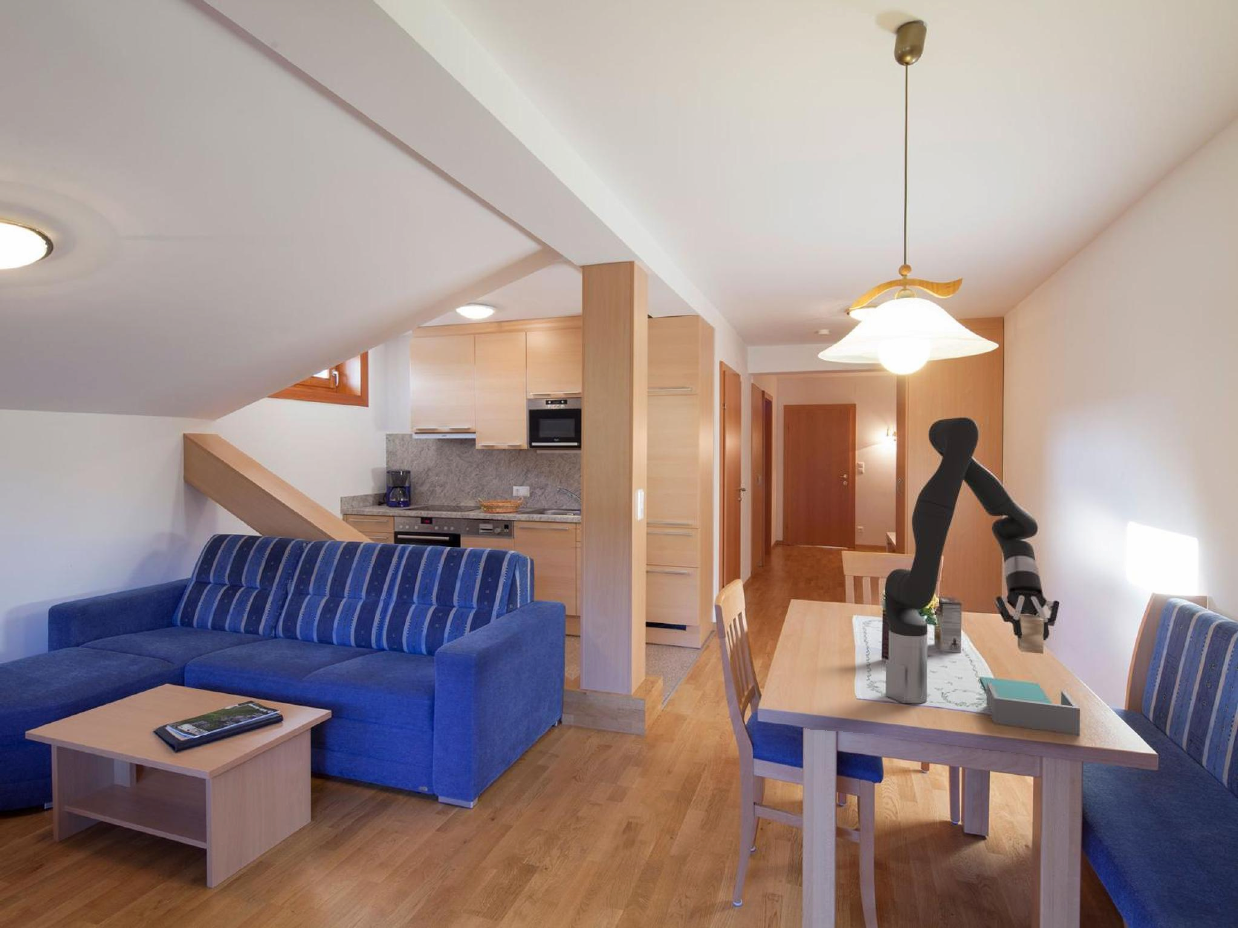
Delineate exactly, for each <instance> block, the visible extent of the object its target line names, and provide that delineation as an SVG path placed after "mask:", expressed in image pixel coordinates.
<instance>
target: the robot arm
mask: <svg viewBox="0 0 1238 928" xmlns="http://www.w3.org/2000/svg"><path fill="white" fill-rule="evenodd" d="M979 436H980V431H979V426H978V424H977V423H976V421H974V419H972V418H969V417H954V418H953V417H951V418H943V419H938V420H936V421H935V422H933V423H932V425H931V426H930V427H929V429H928V440H929V443H930V444H931V446H932V448H933V449H934V450H935V451H936V452H937V453H938V454H939V455H940V456H941V457H942V458H941V461H940V463H939V466H938V468H937V469H936V471H935V472H934V474H933V475H932V476H931V478H929V480H928V481H927V482H926V484H925V485H924V486H923V487H922V489H921V491H920V492H919V493H918V496H917V498H916V502H915V506H914V509H913V513H912V516H911V527H912V528H911V529H912V534H913V539H914V546H915V548H914V549H915V552H914V556H913V557H914V558H913V562H912V564H911V569H906V568H897V569H894V570H892V571H891V572H890V573H889V574H888V575H887V578H886V579H885V580H886V581H885V585H884V605H885V606H884V608H885V610H886V618H887V621H888V623H889V659H888V660H886V662H885V696H886V697H888V698H891V699H892V700H895V701H898V702H900V703H902V704H923V703H926V702H927V701H928V624H927V623H928V622H926V620H925V619H924V618H923V617H922V615H920V613H919V612H918V611H919V610H923V609H925V608H927V607H928V606H929V605H930V603H931V602H932V601H933V599H934V598H935V593H936V590H937V584H938V578H939V571H940V567H941V566H940V565H941V560H942V555H943V552H944V549H945V543H946V541H947V536H948V532H949V529H950V526H951V524H952V521H953V516H954V513H955V509H956V506H957V501H958V498H959V495H960V491H961V489H962V485H963V482H964V483H965V484H966V485H967V487H969V489H970V490H971V491H972V493H973V494H974V496H975V497H976V498H977V500H978V502H979V503H980V504H981V506H982V507H983V508H984V510H985V512H986V513H987V514H988V515H989V516H992V517H1000V516H1001V518H997V519H996V520H995V521H994V522H993V523H992V525H991V532H992V534H993V536H994V538H995V540H996V541H997V543H998V545H999V546H1000V549H1001V552H1002V556H1003V563H1004V564H1003V565H1004V578H1005V579H1004V580H1005V583H1006V591H1007V596H1005V597H1002V596H996V597H995V603H994V604H995V606H996V607H995V608H997V611H998V612H999V614H1000V617H1001V618H1002V621H1003V622H1004V623H1010V624H1011V625H1012V629H1013V634H1014V636H1017V637H1016V638H1017V639H1018V638H1021V636H1022V631H1021V625H1020V621H1019V615H1020V614H1022V615H1035V616H1039V617H1041V618H1042V619H1043V620H1044V634H1043V641H1047V639H1049V637H1050V630H1049V626H1050V627H1053V626H1055V625H1056V621H1057V617H1058V612H1059V609H1060V608H1059V607H1060V601H1058V600H1053V601H1051V600H1048V599H1046V597H1045V596H1044V593H1043V587H1042V582H1041V576H1040V571H1039V567H1038V565H1037V562H1036V556H1035V552H1034V548H1033V545H1031V543H1030V542H1028V541H1025V540H1026V539H1030V538H1032V537H1035V536H1036V535H1037V533H1038V529H1039V527H1038V526H1039V525H1038V522H1037V521H1036V519H1035V517H1033V515H1032V514H1031V513H1030V512H1028V510H1026V509H1024V508H1023V507H1022V506H1020V505H1019V504H1018V503H1017V502H1016V501H1015V500H1014V499H1013V498H1012V497H1011V495H1010V493H1009V492H1008V491H1007V490H1006V488H1005V486H1004V485H1003V483H1002V482H1001V481H1000V480H999V479H998V478H997V477H996V476H995V475H994V474H993V473H992V472H991V471H990V470H988V469H987V467H984V465H982V464H981V463H980V462H979V461H978V460H976V459H975V458H974V457H973V455H974V454H975V451H976V449H977V445H978V442H979ZM1003 516H1004V517H1003ZM1007 604H1008V605H1009V606H1011V608H1012V609H1014V613H1013V615H1012V614H1011V613H1010V612H1009V609H1008V608H1007ZM1045 606H1046V607H1047V609H1048V611H1049V612H1050V613H1049V614H1050V615H1049V617H1047V616H1046V615H1045V611H1044V607H1045Z"/></svg>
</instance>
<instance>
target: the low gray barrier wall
mask: <svg viewBox="0 0 1238 928" xmlns="http://www.w3.org/2000/svg"><path fill="white" fill-rule="evenodd" d="M986 705H987V706H986V708H987V707H988V708H987V710H988V712H990V713H989V714H990V717H991V719H992V721H993V723H994V725H995V724H996V725H1002V726H1010V727H1017V728H1023V729H1024V728H1026V729H1033V730H1039V731H1048V732H1054V731H1055V733H1060V734H1061V733H1064V734H1068V735H1069V734H1070V735H1076V734H1079V735H1078V736H1080V735H1081V708H1080V707H1079V705H1078V704H1077V703H1076V702H1075V700H1074V699H1073V698H1072V696H1071V695H1070V694H1069V693H1068V692H1067V690H1060V704H1057V703H1052V704H1050V703H1042V702H1034V701H1025V700H1017V699H1009V698H1000V697H998V695H997V693H996V691H995V689H994V687H993V685H992V683H990V682H987V692H986Z"/></svg>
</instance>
